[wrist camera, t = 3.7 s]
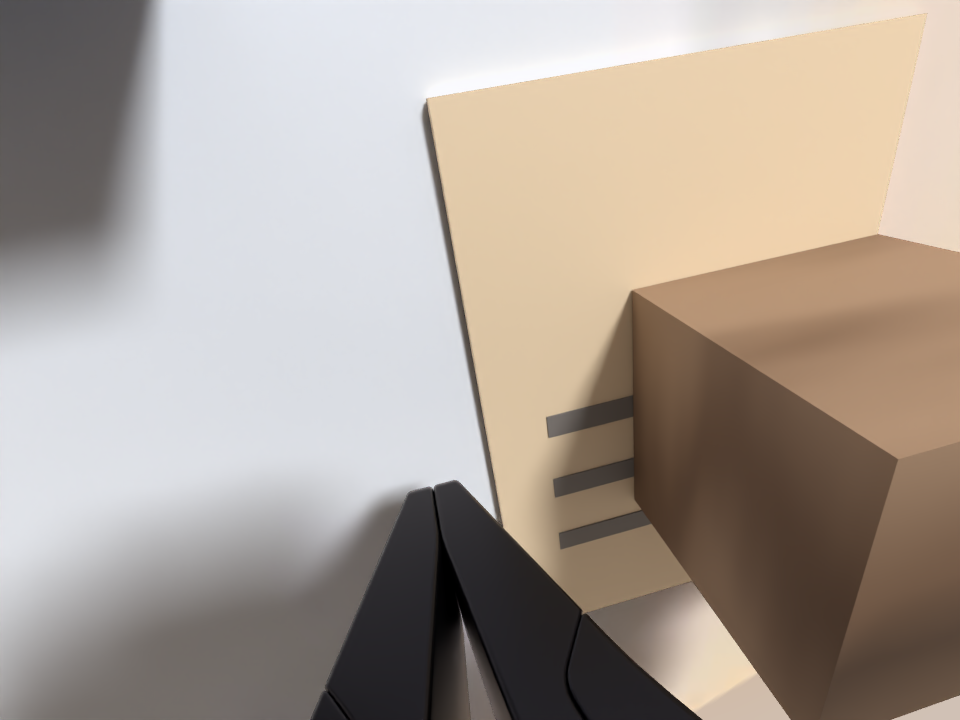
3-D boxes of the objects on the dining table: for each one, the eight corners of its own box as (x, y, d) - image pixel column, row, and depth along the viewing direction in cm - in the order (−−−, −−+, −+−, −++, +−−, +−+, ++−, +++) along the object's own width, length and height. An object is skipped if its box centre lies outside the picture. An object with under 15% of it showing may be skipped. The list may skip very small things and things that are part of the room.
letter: (801, 540, 14) (808, 547, 13) (520, 624, 13) (523, 633, 12) (915, 15, 8) (928, 12, 8) (426, 98, 7) (427, 97, 7)
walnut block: (831, 444, 12) (1112, 639, 7) (634, 499, 11) (811, 747, 7) (877, 233, 9) (1329, 335, 5) (631, 289, 9) (899, 459, 4)
